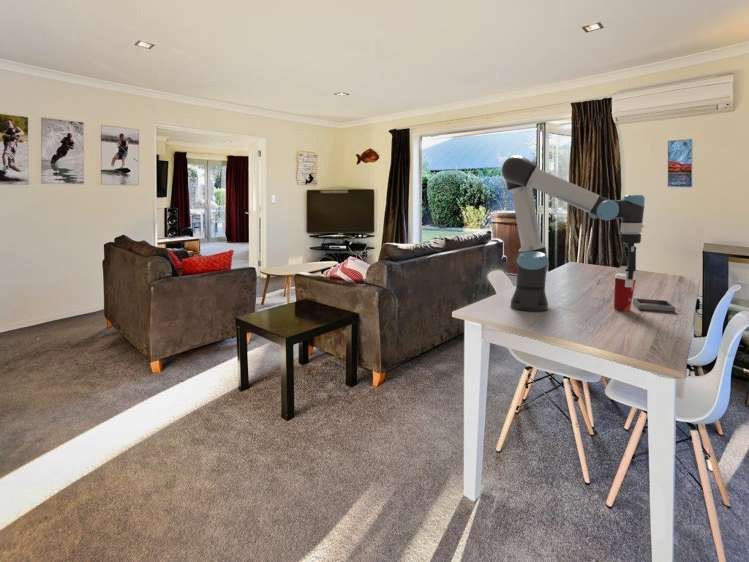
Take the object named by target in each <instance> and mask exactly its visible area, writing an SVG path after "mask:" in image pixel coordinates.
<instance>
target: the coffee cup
mask: <svg viewBox="0 0 749 562" xmlns="http://www.w3.org/2000/svg"><path fill="white" fill-rule="evenodd" d="M637 279H638V278H637V275H636V274H634V280H633V288H632V287H625V280H626V273H620V272H618V273H616V274H615V276H614V296H613V310H615V311H620V312H630V311H631V308H632V307H631V306H632V304H633V298H634V297H633V296H634V292H635V287H636V281H637Z"/></svg>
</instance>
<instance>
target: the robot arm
mask: <svg viewBox="0 0 749 562" xmlns="http://www.w3.org/2000/svg"><path fill="white" fill-rule="evenodd" d="M501 174H502V177H503V179H504V180H505V181H506V188H507V192H509V193H511V196H512V201H513V209H514V213H515V214H514V215H515V219H516V224H517V225H516V226H517V230H518V236H519V242H520V248H519V249H518V257H517V260H516V262H517V267H516V269H517V270H516V282H515V283H516V285H515V290H514V293H513V294H512V297H511V299H510V307H511V306H512V307H513V309H515V308H516V310H518V309H520V310H519V311H523V310H525V312H543V311H547V310H548V309H549V302H548V298H547V294H546V281H547V271H548V270H549V269H550V260H549V258H548V255H547V250H546V248H547V247H546V246H545V244H543V243H542V240H541V235H540V229H539V223H538V222H539V221H538V217H537V216H538V215H537V211H536V204H535V200H534V193H533V189H534V190H537V191H539V192H542V193H544V194H546V195H549V196H550V197H553V198H555V199H557V200H560V201H561V202H564V203H567V204H568V205H571V206H573V207H575V208H578V209H579V210H581V211H584V212H586V213H589V217H590V218H591V219H601V220H603V221H610V220H615V219H617V220H618V219H621V222H620V235H619V243H623V244H622V252H621V257H620V262H619V264H620V270H619V273H626V280H625V287H632V288H633V280H634V275H635V272H636V270H637V261H636V260H637V246H635V244H640V243H641V241H642V232H643V231H642V228H644V224H643V221H644V213H645V199H646V198H645V196H644V195H643V194H626V195H624V196H623V198H622V199H618V200H617V199H608V198H606V197H604V196H603V195H602V196H601V195H599V194H598V193H595V192H593V191H591V190H589V189H586V188H583V187H581V186H578V185H576V184H574V183H572V182H570V181H567V180H565V179H563V178H560V176H559V177H558V176H556V175H554V174H551V173H549V172H546V171H545V170H542V169H540V166H539V165H538V164H535V163H533V162H531V161H530V160H529V159H528V158H526V157H524V156H522V155H518V154H517V155H512V156H510V157H508V158H507V159H506V160H505V161H504V162H503V164H502V168H501ZM512 307H511V308H512Z"/></svg>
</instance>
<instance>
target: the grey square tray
mask: <svg viewBox="0 0 749 562" xmlns="http://www.w3.org/2000/svg"><path fill="white" fill-rule="evenodd" d="M632 304H633V305H634V307H635V308H636V309H637V310H638V311H645V312H646V311H647V312H657V313H671V314H675V312H676V307H675V306H674V305H673V304H672V303H671V302H669V301H668V300H664V299H663V300H662V299H651V298H650V299H649V298H648V299H647V298H638V297H637V298H635V297H633V298H632Z"/></svg>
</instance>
